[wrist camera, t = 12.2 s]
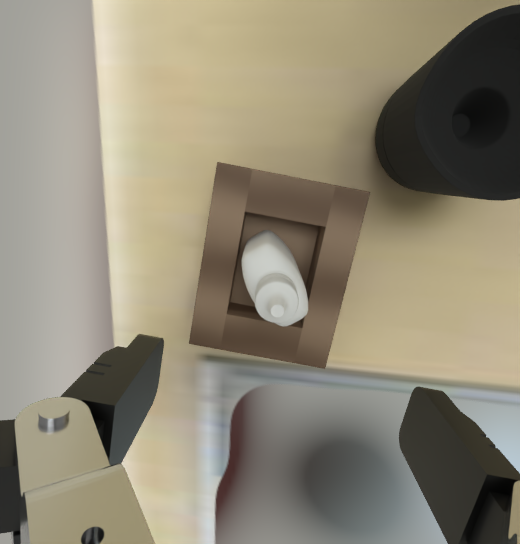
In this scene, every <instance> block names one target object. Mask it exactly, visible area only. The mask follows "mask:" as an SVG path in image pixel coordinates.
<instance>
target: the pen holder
mask: <svg viewBox="0 0 520 544" xmlns="http://www.w3.org/2000/svg"><path fill="white" fill-rule="evenodd" d="M376 148H377V153H378V157H379V160H380V162H381V164H382V166H383V168H384V169H385V171H386V172H387V173H388V174H389V176H390V177H391V178H392V179H394V180H395V181H396V182H397V183H399V184H401V185H402V186H404V187H407V188H409V189H412V190H416V191H422V192H428V193H434V194H443V195H451V196H460V197H468V198H477V199H485V200H512V199H518V198H520V5H514V6H509V7H505V8H502V9H498V10H496V11H493V12H491V13H489V14H486V15H485V16H483V17H481V18H479V19H478V20H476V21H474V22H473V23H472V24H470V25H469V26H468V27H466V28H465V29H464V30H462V31H461V32H460V33H459V34H458V35H457V36H456V37H455V38H453V39H452V40H451V41H450V42H449V43H448V44H447V45H446V46H445V47H443V48H442V49H441V50H440V51H439V52H438V53H437V54H436V55H435V56H433V57H432V58H431V59H430V60H429V61H428V62H427V63H426V64H425V65H423V66H422V67H421V68H420V69H419V70H418V71H417V72H416V73H415V74H413V75H412V76H411V77H410V78H409V79H408V80H407V81H406V82H405V83H404V84H403V85H402V86H401V87H400V88H399V89H398V90H397V91H396V92H395V93H394V94H393V95H392V96H391V98H390V99H389V100H388V102H387V103H386V105H385V106H384V108H383V110H382V113H381V115H380V118H379V120H378V124H377V129H376Z"/></svg>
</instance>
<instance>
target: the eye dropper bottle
mask: <svg viewBox="0 0 520 544" xmlns="http://www.w3.org/2000/svg"><path fill="white" fill-rule="evenodd" d="M242 272H243V277H244V281H245V284H246V287H247V290H248V292H249V294H250V296H251V298H252V300H253V301H254V303H255V307H256V309H257V311H258V313H259V315H261V317H262V318H264V319H266V320H267V321H270V322H272V323H273V322H274V323H276V324H277V325H279V326H283V327H284V326H289V325H291V324H293V323H295V322H297V321H299V320H301V319H302V318H304V317H305V316H306V315H307V312H308V298H307V292H306V288H305V285H304V282H303V280H302V277H301V274H300V272H299V269H298V266H297V264H296V261H295V259H294V257H293V255H292V253H291V251H290V250H289V248H288V247H287V245H286V244H285V243H284V242H283V241H282V240H281V239H280V238H279V237H278V236H277V235H276V234H275V233H273V232H272V231H270V230H264V231H262V232H260V233H258V234H256V235H255V236H253V237H251V238H250V239H249V240H248V241H247V243H246V246H245V249H244V252H243V255H242Z"/></svg>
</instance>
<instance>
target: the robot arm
mask: <svg viewBox="0 0 520 544" xmlns="http://www.w3.org/2000/svg"><path fill="white" fill-rule="evenodd" d="M163 347H164V340H163V338H158V337H153V336H147V335H142V334H139V335H138V336H137V337H136V338H135V339H134V340H133V341H132V343H131V344H130V345H129V346H128V347H127V348H124V347H119V346H117V347H115V348H113V349H111V350H109V351H106V352H104V353H103V354H102V355H101V356H100V357H99V358H98V359H97V360H96V361H95V362H94V364H92V365H91V366H90V367H89V368H88V369H87V370H86V372H84V373H83V374H82V375H81V376H80V377H79V378H78V379H77V381H75V382H74V383H73V384H72V385H71V386H70V387H69V388H68V389H67V390H66V392H64V393H63V395H62V396H61V397H55V398H49V399H44V400H41V401H38V402H35V403H33V404H31V405H29V406H28V407H26V408H25V409H23V410H22V411H21V412H20V413H19V414H18V416H17V417H16V419H14V420H2V421H0V533H7V532H11V538H12V544H155V542H154V540H153V537H152V535H151V532H150V530H149V527H148V525H147V522H146V520H145V517H144V515H143V512H142V510H141V508H140V505H139V503H138V500H137V498H136V495H135V493H134V490H133V488H132V485H131V483H130V480H129V478H128V475H127V473H126V471H125V468H124V467H123V465H122V464H121V463H122V461H123V459H124V457H125V455H126V453H127V451H128V449H129V447H130V446H131V444H132V442H133V440H134V438H135V436H136V434H137V432H138V430H139V428H140V427H141V425H142V423H143V421H144V419H145V417H146V415H147V413H148V411H149V410H150V408H151V406H152V404H153V401H154V399H155V396H156V392H157V388H158V383H159V376H160V368H161V361H162V354H163ZM399 443H400V448H401V451H402V453H403V455H404V456H405V458H406V461H407V463H408V465H409V467H410V469H411V471H412V473H413V475H414V477H415V479H416V481H417V482H418V485H419V487H420V489H421V491H422V493H423V495H424V497H425V499H426V500H427V503H428V505H429V506H430V509H431V511H432V513H433V515H434V517H435V519H436V521H437V523H438V524H439V526H440V528H441V531H442V533H443V535H444V537H445V538H446V541H447V543H448V544H520V474H519V472H518V471H517V470H516V469H515V468H514V467H513V465H512V464H511V463H510V462H509V461H508V460H507V459H506V457H505V456H504V455H503V454H502V453H501V452H500V450H498V449H497V448H495V445H494V444H493V442H492V441H491V440H490V439H489V438H487V437H486V434H485V433H484V432H483V431H482V430H481V429H480V427H479V426H478V425H477V424H476V423H475V422H474V421H472V420H471V419H470V418H469V417H467V416H466V415H465V414H463V413H462V412H460V410H459V409H458V408H457V407H456V406H455V405H454V403H453V402H452V401H451V400H450V399H449V397H448V396H447V395H446V394H445V393H444V392H443V391H439V390H434V389H428V388H423V387H416V388H415V389H414V390H413V392H412V394H411V397H410V401H409V403H408V407H407V409H406V412H405V415H404V419H403V422H402V425H401V428H400V432H399Z"/></svg>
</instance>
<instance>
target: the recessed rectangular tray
mask: <svg viewBox="0 0 520 544" xmlns="http://www.w3.org/2000/svg"><path fill="white" fill-rule="evenodd" d="M369 195H370V192H367V191H362V190H357V189H352V188H347V187H341V186H336V185H331V184H326V183H321V182H316V181H311V180H306V179H301V178H296V177H291V176H286V175H281V174H276V173H271V172H265V171H260V170H255V169H250V168H245V167H240V166H235V165H230V164H225V163H220V162H217V168H216V174H215V181H214V187H213V193H212V200H211V206H210V212H209V219H208V225H207V232H206V238H205V244H204V251H203V257H202V264H201V270H200V276H199V283H198V289H197V296H196V302H195V308H194V315H193V321H192V328H191V334H190V340H189V344H194V345H199V346H205V347H210V348H216V349H221V350H227V351H232V352H237V353H243V354H248V355H254V356H259V357H265V358H270V359H275V360H281V361H286V362H292V363H297V364H303V365H308V366H313V367H319V368H324V369H325V367H326V363H327V359H328V355H329V351H330V347H331V343H332V339H333V335H334V332H335V328H336V324H337V320H338V316H339V312H340V308H341V304H342V300H343V296H344V293H345V289H346V285H347V281H348V277H349V273H350V269H351V265H352V261H353V257H354V253H355V250H356V246H357V242H358V238H359V234H360V230H361V226H362V222H363V218H364V214H365V210H366V207H367V203H368V199H369ZM264 230H270V231H272V232H273V233H275V234H276V235H277V236H278V237H279V238H280V239H281V240H282V241H283V242H284V243H285V244H286V245H287V247H288V248H289V250H290V251H291V253H292V255H293V257H294V259H295V261H296V264H297V266H298V269H299V272H300V274H301V277H302V280H303V282H304V285H305V288H306V292H307V298H308V312H307V315H306V316H305V317H304V318H302V319H301V320H299V321H297V322H295V323H293V324H291V325H289V326H284V327H283V326H279V325H277V324H276V323H274V322H273V323H272V322H270V321H267V320H266V319H264V318H262V317H261V315H259V313H258V311H257V309H256V307H255V303H254V301H253V300H252V298H251V296H250V294H249V292H248V290H247V287H246V284H245V281H244V277H243V272H242V255H243V252H244V249H245V246H246V243H247V241H248V240H249V239H250V238H251V237H253V236H255V235H256V234H258V233H260V232H262V231H264Z"/></svg>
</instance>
